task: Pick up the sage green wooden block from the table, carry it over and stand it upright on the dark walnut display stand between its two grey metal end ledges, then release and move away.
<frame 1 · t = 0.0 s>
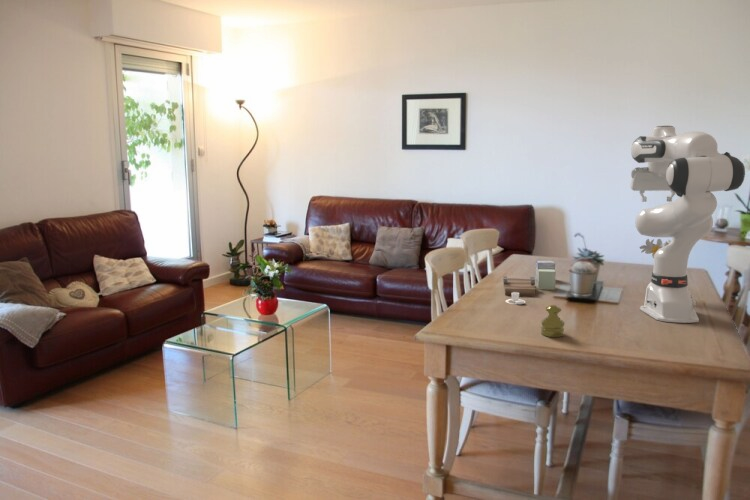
hand: (656, 201, 233), 39 cm above the table, fingers open, 8 cm apart
teacup and saucer: (511, 304, 231), on the table
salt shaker: (552, 334, 194), on the table
green block: (546, 288, 253), on the table
display stand: (518, 290, 251), on the table
medicine box: (545, 280, 268), on the table
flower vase: (659, 297, 236), on the table
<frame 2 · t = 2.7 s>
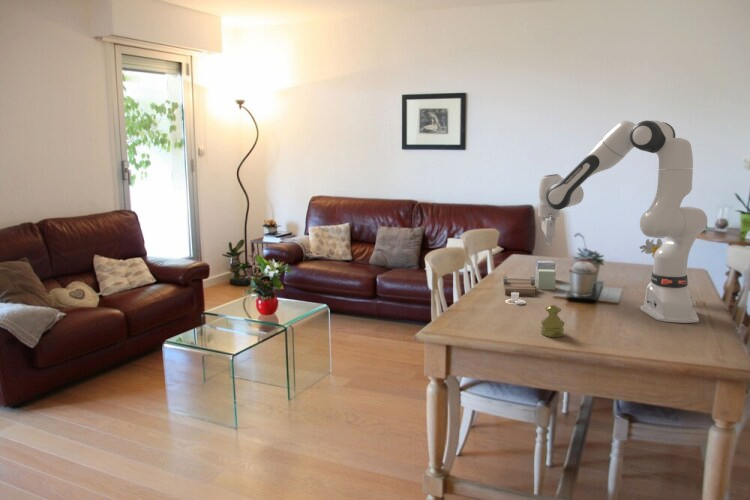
hand: (547, 244, 250), 20 cm above the table, fingers open, 8 cm apart
nothing on the table moved.
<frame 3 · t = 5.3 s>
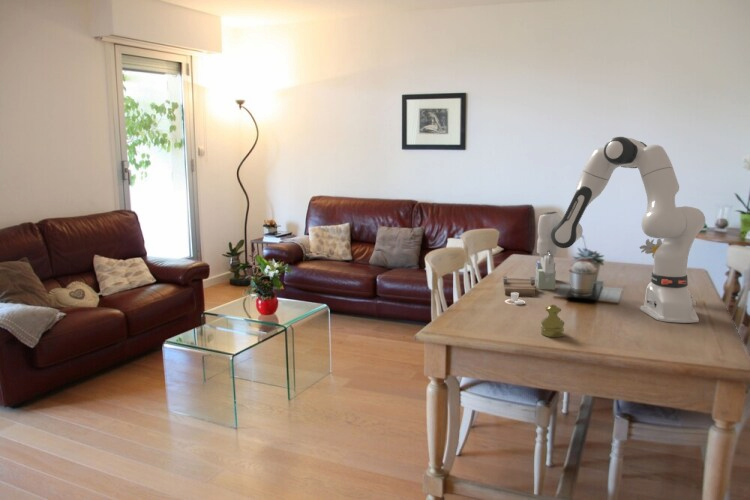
hand: (546, 280, 253), 4 cm above the table, fingers closed on green block, 4 cm apart
green block: (546, 288, 253), on the table, touching gripper
everything else where it was.
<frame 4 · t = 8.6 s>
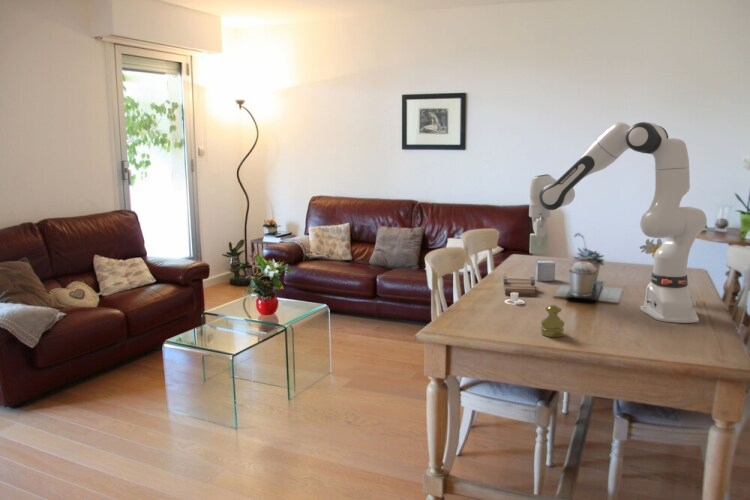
hand: (538, 244, 249), 20 cm above the table, fingers closed on green block, 4 cm apart
green block: (538, 252, 250), point 16 cm above the table, touching gripper
everything else where it was.
when the fingers open (8 cm above the table, at t = 12.1 s): green block drops 1 cm, resting on display stand.
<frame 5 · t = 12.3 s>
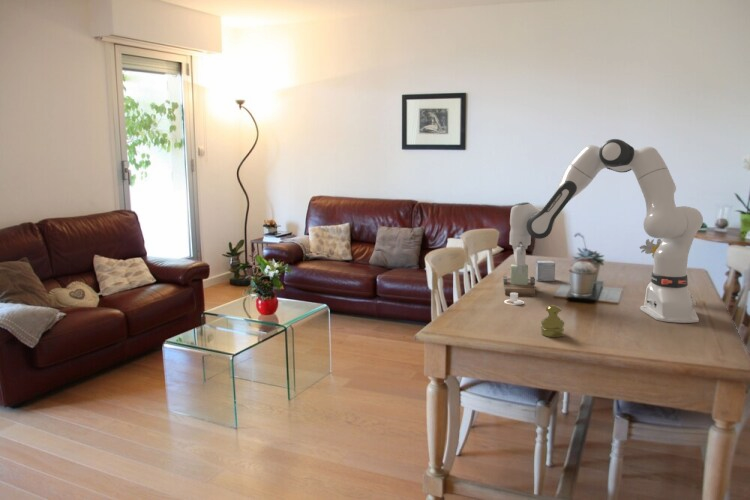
hand: (519, 272, 249), 8 cm above the table, fingers open, 6 cm apart
green block: (518, 283, 250), point 3 cm above the table, touching display stand
everything else where it was.
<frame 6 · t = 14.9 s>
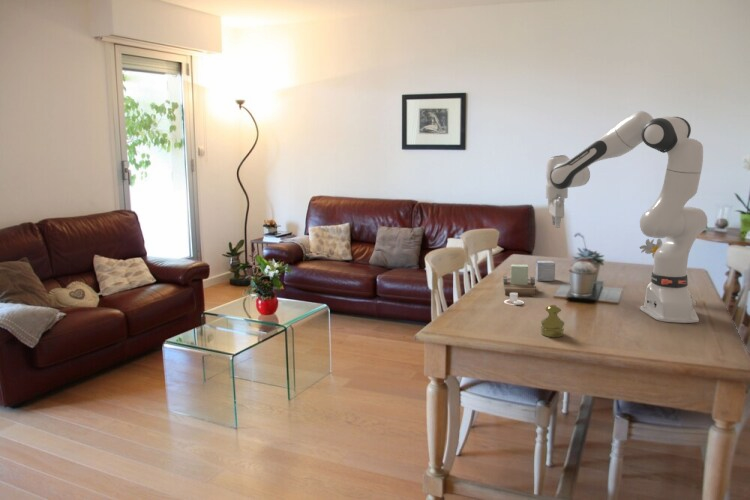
hand: (556, 226, 248), 27 cm above the table, fingers open, 8 cm apart
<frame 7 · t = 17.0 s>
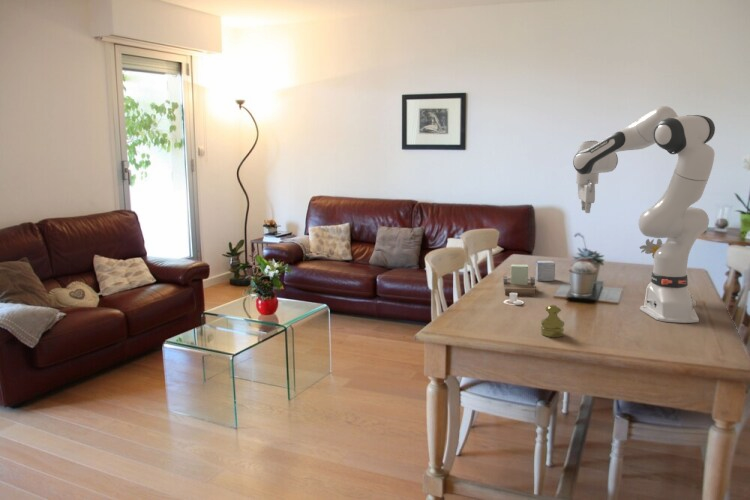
hand: (585, 211, 250), 33 cm above the table, fingers open, 8 cm apart
at the end: green block 0.1 cm off-centre on the display stand, point 3.0 cm above the display stand's base; green block tilted 0°; the gripper is holding nothing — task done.
